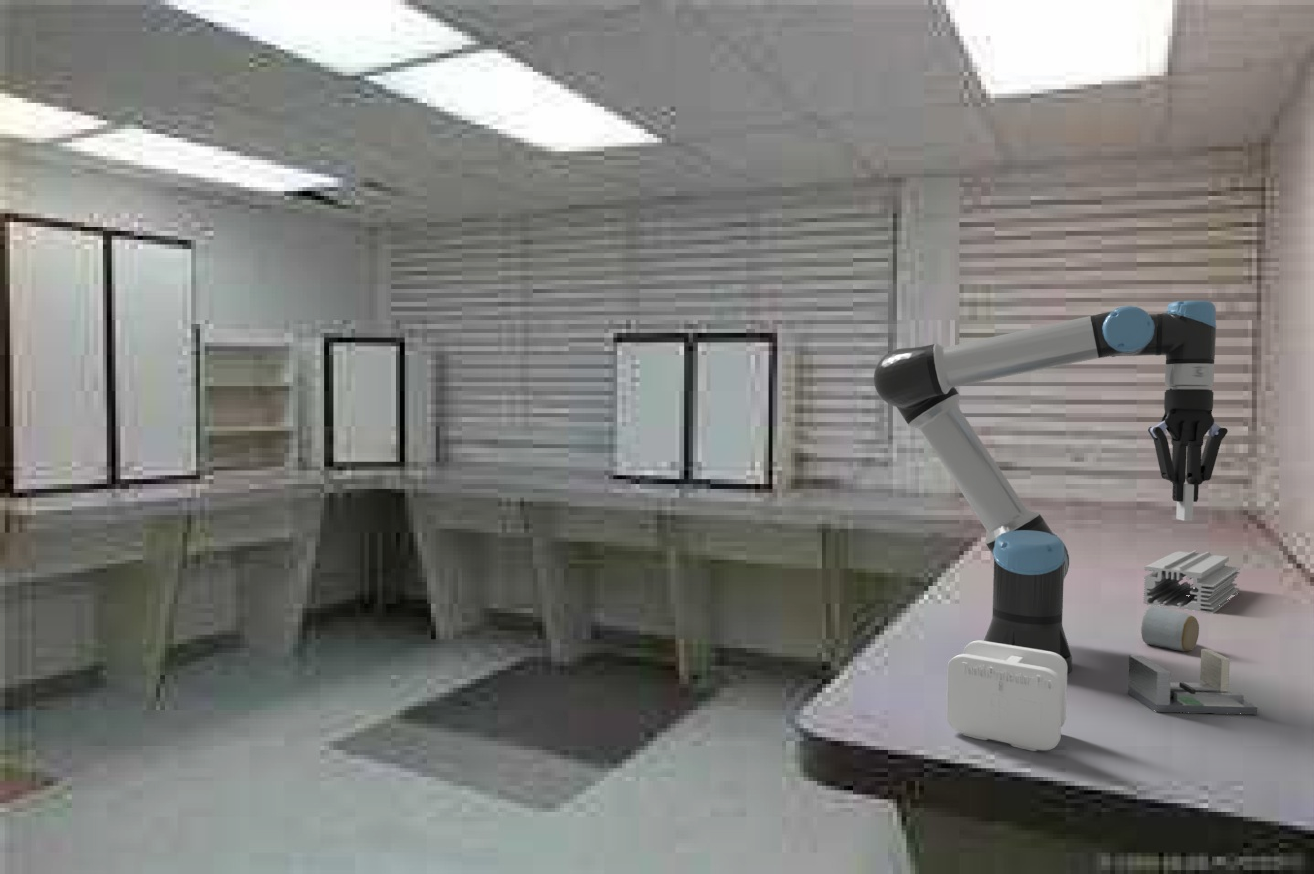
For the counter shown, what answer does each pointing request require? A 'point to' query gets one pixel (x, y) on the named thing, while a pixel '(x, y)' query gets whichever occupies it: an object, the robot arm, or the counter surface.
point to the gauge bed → (1178, 693)
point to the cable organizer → (1007, 694)
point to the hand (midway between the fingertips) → (1184, 519)
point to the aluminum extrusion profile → (1207, 580)
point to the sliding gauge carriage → (1207, 675)
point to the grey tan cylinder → (1169, 629)
